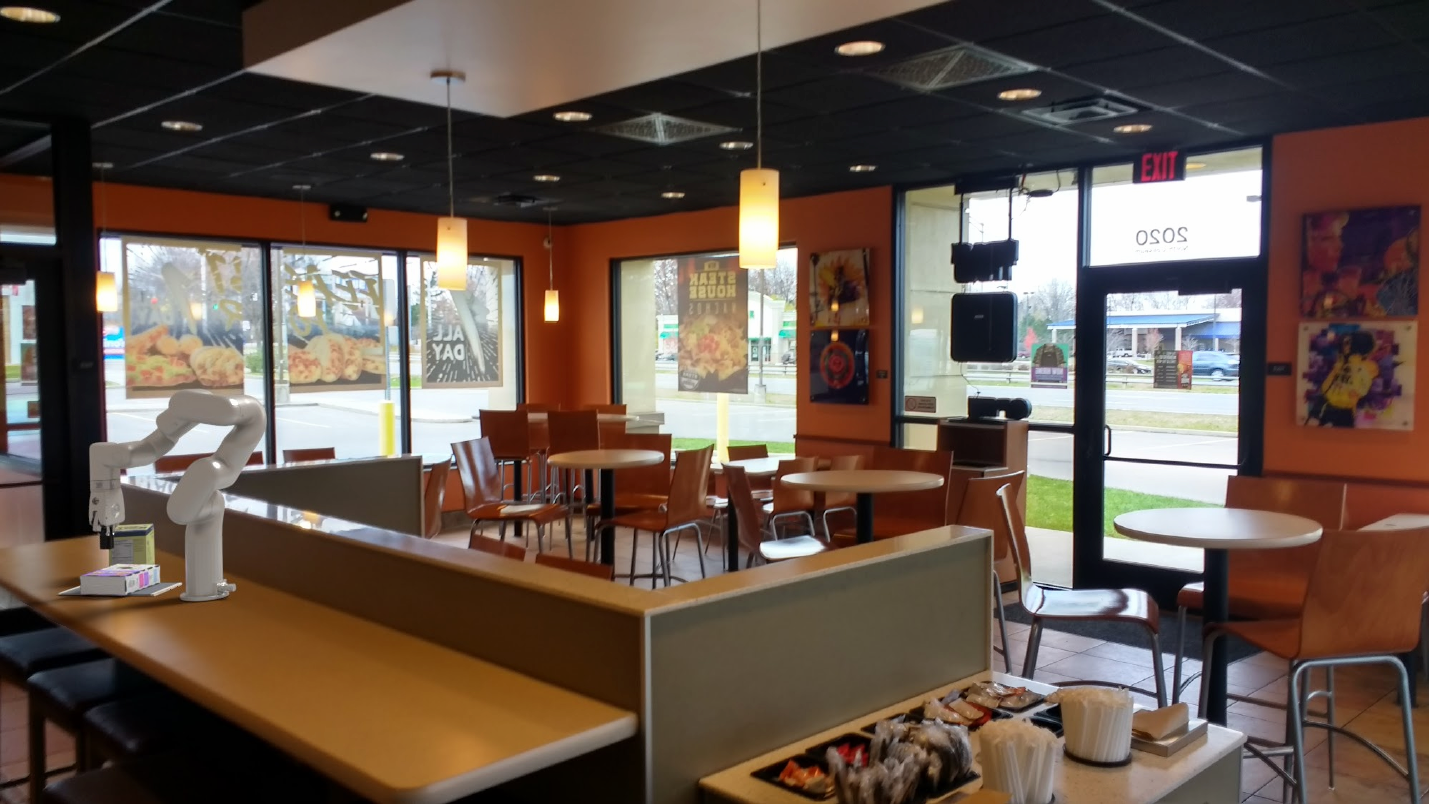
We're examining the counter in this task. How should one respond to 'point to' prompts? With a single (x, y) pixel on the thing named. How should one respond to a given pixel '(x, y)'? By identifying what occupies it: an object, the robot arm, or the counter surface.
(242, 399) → the robot arm
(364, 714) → the counter surface
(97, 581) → the candy box
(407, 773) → the counter surface
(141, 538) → the protein box
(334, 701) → the counter surface
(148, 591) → the gray flat board
